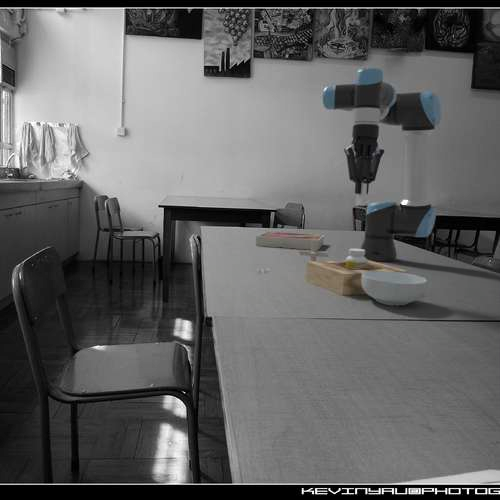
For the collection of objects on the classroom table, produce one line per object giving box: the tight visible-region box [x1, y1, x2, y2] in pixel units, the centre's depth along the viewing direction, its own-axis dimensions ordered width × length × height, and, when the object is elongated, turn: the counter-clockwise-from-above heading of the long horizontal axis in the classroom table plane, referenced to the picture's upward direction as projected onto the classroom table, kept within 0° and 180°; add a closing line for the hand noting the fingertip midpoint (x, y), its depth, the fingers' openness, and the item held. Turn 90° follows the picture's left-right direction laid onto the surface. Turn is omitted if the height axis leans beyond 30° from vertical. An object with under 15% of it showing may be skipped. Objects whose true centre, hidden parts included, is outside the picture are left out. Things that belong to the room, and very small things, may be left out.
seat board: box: [306, 259, 408, 296], centre depth 155 cm, size 22×20×6 cm
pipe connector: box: [299, 240, 329, 262], centre depth 183 cm, size 10×10×10 cm
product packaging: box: [255, 231, 325, 251], centre depth 242 cm, size 22×28×5 cm
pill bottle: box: [345, 248, 367, 268], centre depth 155 cm, size 6×6×11 cm
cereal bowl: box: [361, 271, 428, 307], centre depth 136 cm, size 17×17×7 cm
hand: (360, 205), depth 154 cm, fingers closed
